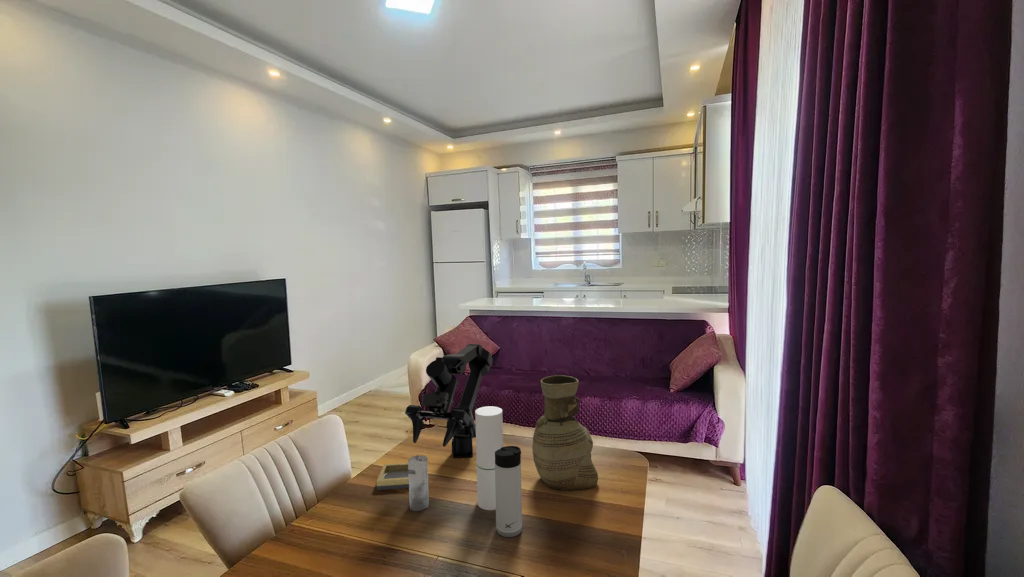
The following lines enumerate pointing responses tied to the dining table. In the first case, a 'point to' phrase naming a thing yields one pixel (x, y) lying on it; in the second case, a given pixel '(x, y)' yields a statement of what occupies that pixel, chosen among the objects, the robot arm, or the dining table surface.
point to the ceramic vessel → (563, 438)
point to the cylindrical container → (487, 453)
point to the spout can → (418, 482)
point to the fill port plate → (393, 477)
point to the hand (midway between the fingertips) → (428, 444)
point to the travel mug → (508, 491)
